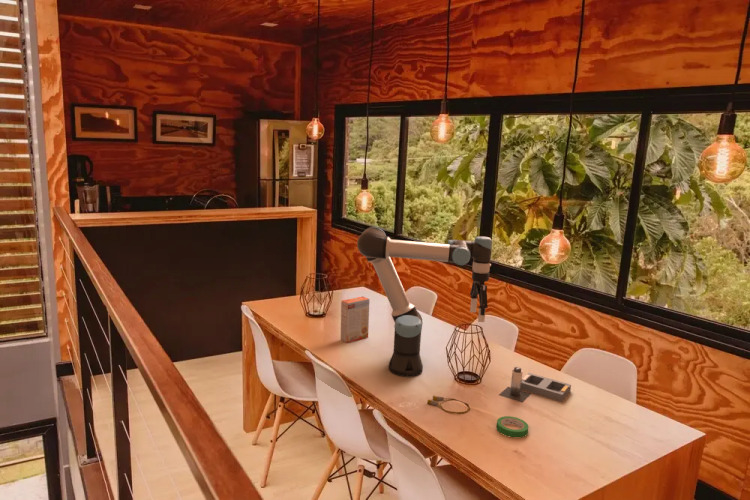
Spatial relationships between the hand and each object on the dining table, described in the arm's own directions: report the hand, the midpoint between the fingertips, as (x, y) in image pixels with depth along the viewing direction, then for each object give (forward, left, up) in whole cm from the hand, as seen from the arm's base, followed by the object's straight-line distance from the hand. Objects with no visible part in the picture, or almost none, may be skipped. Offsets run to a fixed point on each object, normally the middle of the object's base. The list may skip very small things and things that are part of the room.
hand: (477, 316), depth 251 cm
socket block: (-7, -36, -23) cm, 43 cm away
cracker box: (-11, +60, -23) cm, 66 cm away
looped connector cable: (-43, -11, -24) cm, 50 cm away
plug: (-19, -28, -22) cm, 40 cm away
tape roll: (-45, -37, -23) cm, 63 cm away
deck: (-19, -28, -23) cm, 41 cm away
